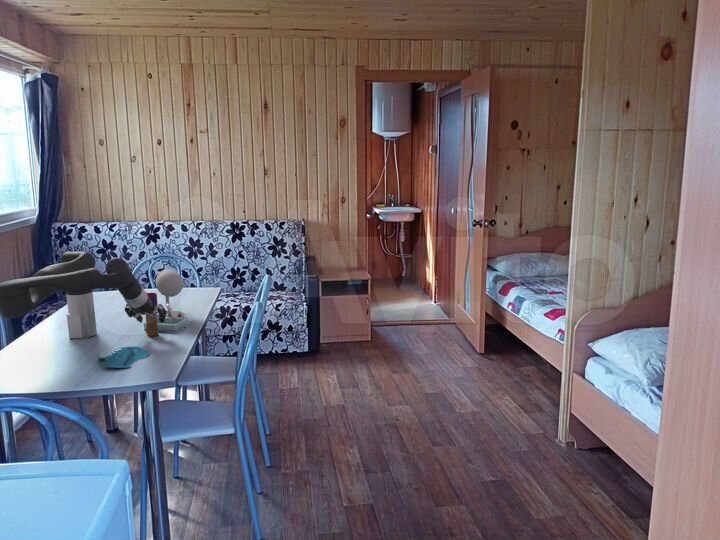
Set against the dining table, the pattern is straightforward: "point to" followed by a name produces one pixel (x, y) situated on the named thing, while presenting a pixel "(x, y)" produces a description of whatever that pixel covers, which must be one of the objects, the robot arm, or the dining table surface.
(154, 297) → the mug
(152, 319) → the dowel
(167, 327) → the bin
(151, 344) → the dining table surface
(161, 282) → the light fixture
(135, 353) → the mineral
